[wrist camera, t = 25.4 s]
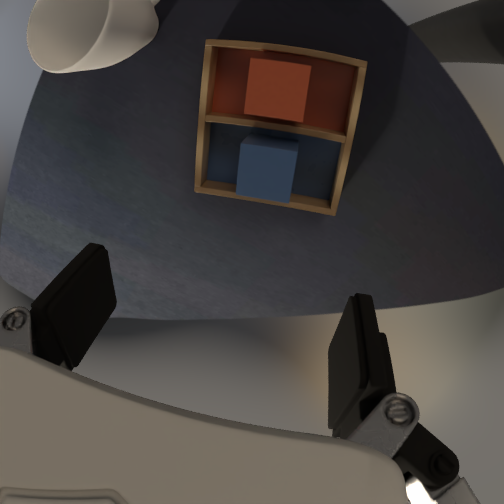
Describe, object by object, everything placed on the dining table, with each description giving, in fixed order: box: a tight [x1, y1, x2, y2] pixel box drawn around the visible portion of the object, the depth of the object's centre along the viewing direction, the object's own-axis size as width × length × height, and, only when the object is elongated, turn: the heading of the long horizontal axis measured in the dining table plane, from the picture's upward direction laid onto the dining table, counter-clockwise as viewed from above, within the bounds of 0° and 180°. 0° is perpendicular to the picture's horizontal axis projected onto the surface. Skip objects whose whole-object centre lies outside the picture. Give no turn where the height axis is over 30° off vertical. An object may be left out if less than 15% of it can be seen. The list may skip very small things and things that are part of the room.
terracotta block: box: [244, 58, 311, 122], centre depth 22 cm, size 4×4×4 cm
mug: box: [27, 0, 160, 73], centre depth 17 cm, size 12×8×11 cm
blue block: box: [236, 133, 299, 204], centre depth 26 cm, size 4×4×4 cm
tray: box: [195, 39, 367, 216], centre depth 26 cm, size 14×13×3 cm
